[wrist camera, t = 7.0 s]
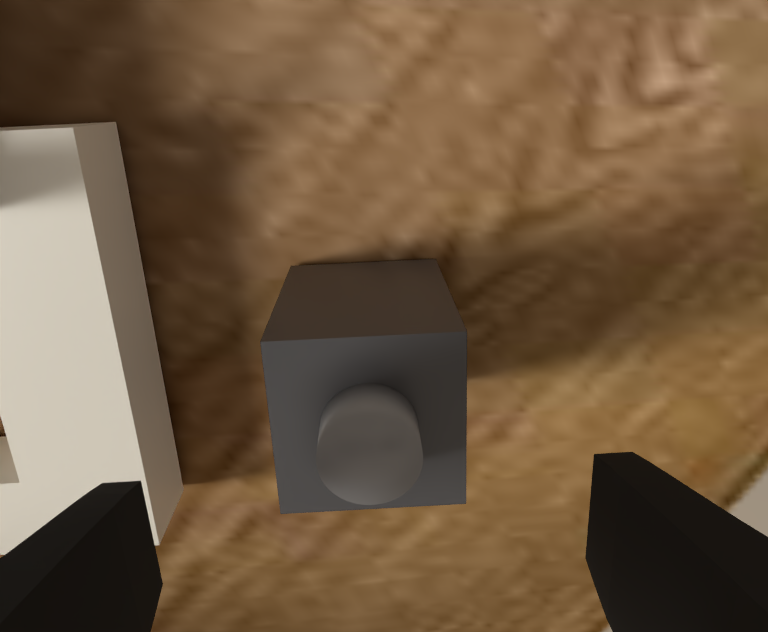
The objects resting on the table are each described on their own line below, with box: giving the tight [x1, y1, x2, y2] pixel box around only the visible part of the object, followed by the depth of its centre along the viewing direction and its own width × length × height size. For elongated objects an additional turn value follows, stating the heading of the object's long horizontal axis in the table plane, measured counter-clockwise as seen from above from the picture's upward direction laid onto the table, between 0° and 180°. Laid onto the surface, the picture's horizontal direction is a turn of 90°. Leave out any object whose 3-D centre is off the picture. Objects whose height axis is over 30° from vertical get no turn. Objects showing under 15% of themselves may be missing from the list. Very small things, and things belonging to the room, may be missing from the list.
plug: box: [260, 259, 467, 514], centre depth 15 cm, size 4×4×7 cm
